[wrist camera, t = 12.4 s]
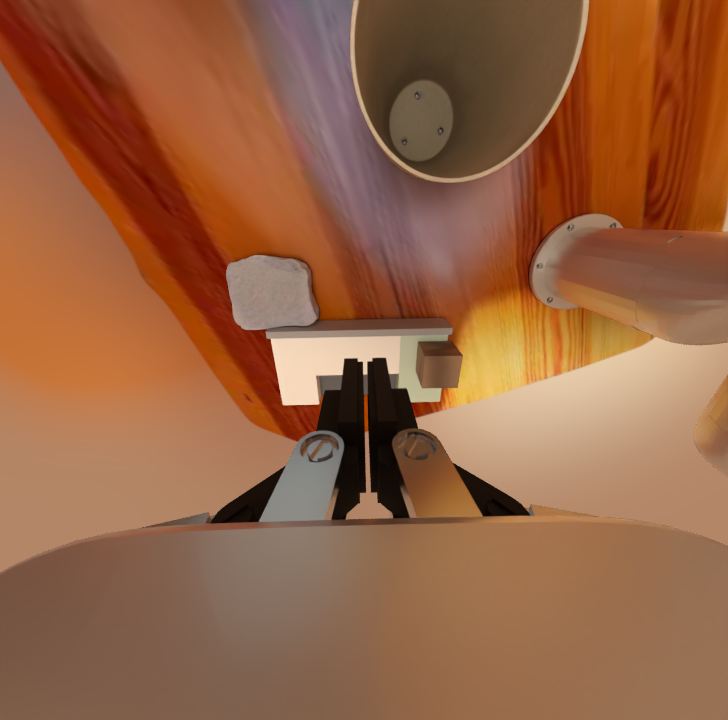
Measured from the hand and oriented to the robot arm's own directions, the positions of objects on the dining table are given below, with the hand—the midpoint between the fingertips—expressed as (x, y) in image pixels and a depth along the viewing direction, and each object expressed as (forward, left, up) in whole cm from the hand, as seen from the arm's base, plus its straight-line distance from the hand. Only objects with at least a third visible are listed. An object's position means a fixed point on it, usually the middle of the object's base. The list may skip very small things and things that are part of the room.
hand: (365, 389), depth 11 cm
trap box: (0, +14, -31) cm, 34 cm away
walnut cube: (-11, +13, -28) cm, 33 cm away
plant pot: (-7, -16, -31) cm, 36 cm away
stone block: (+13, +3, -32) cm, 34 cm away
